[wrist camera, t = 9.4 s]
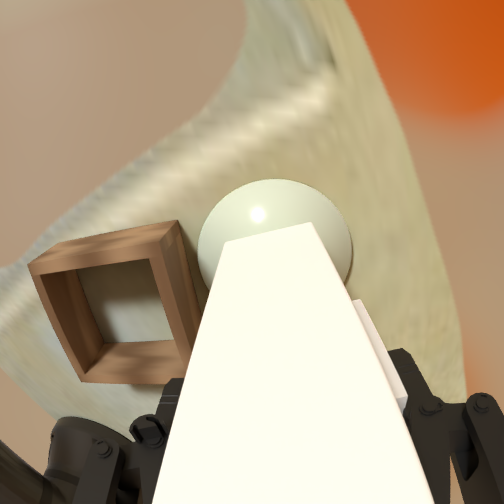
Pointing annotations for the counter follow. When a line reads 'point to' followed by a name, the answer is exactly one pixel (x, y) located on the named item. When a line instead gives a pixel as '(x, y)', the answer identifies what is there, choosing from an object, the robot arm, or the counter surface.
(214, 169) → the counter surface
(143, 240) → the sleeve
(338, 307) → the milk
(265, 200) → the cream glossy dome
